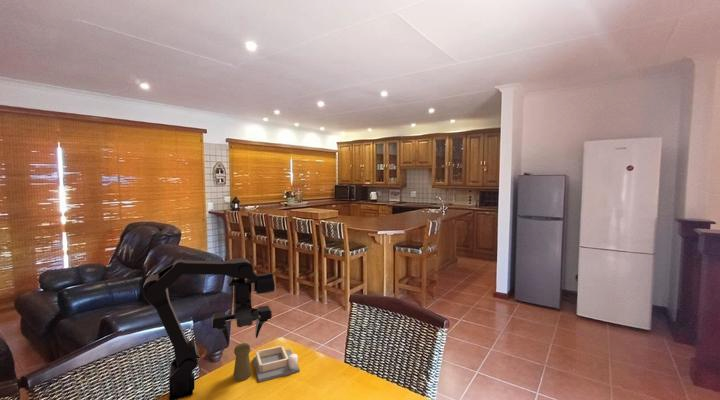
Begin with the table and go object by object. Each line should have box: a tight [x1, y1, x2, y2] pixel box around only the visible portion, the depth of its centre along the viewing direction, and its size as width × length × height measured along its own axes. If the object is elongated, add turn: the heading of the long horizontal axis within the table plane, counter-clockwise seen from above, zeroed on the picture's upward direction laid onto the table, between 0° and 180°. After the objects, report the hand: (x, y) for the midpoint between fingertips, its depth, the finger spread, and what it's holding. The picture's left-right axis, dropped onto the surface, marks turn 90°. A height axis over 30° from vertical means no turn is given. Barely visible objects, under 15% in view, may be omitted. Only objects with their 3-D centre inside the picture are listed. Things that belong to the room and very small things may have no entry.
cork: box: [232, 342, 253, 382], centre depth 111 cm, size 6×6×11 cm
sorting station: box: [252, 345, 301, 383], centre depth 117 cm, size 14×14×5 cm
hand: (242, 340), depth 110 cm, fingers open, 9 cm apart
